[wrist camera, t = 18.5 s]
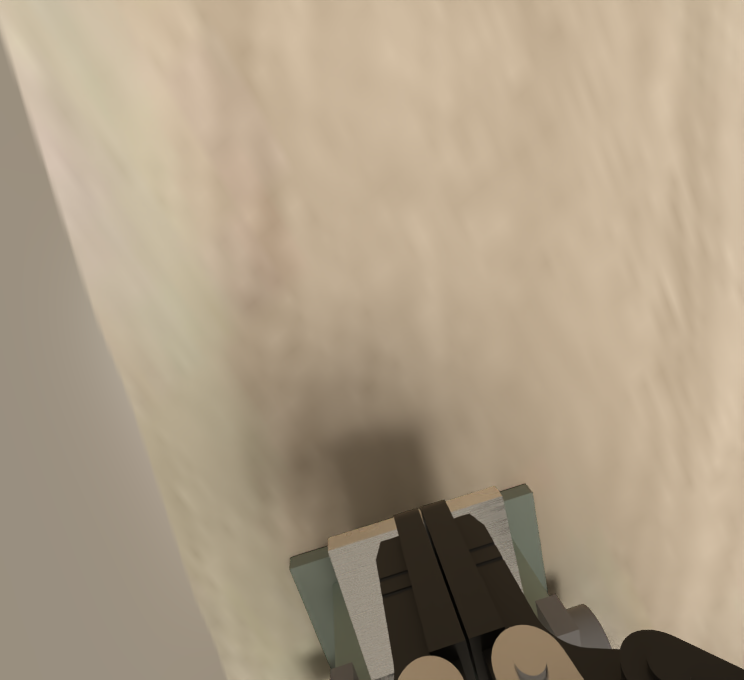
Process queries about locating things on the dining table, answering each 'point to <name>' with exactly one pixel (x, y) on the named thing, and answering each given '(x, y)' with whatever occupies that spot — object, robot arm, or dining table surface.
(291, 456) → the dining table surface
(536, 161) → the dining table surface
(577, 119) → the dining table surface
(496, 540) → the bar
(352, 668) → the grey-green knobbed device
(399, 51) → the dining table surface
